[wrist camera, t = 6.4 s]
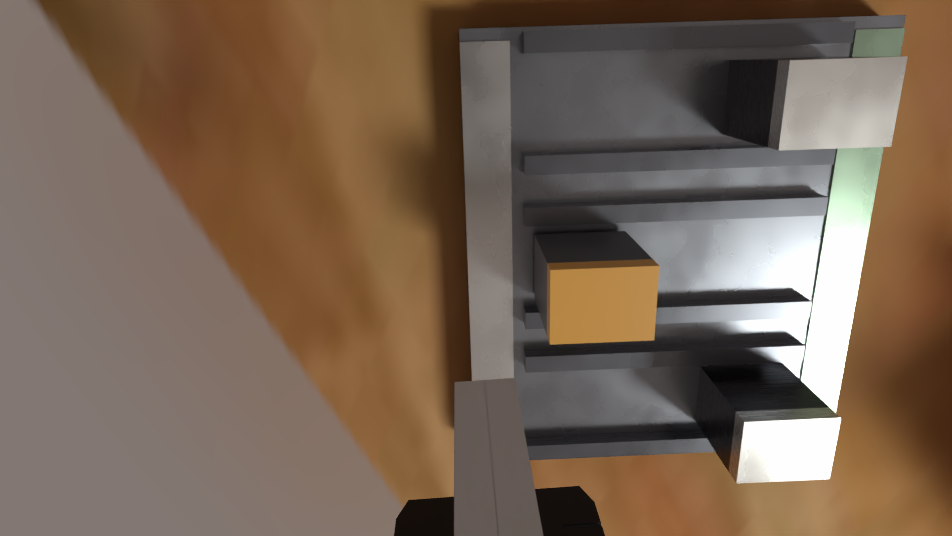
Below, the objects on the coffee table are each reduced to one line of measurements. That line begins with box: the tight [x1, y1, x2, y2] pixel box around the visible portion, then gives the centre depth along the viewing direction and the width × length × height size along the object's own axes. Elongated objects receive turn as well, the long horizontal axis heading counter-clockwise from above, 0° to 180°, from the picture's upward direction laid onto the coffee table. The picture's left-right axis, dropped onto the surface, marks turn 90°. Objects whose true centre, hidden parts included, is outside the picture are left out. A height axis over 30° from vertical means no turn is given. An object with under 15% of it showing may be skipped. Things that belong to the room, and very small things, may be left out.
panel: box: [459, 15, 907, 483], centre depth 26 cm, size 20×18×6 cm
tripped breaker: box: [534, 231, 659, 345], centre depth 25 cm, size 3×4×5 cm
